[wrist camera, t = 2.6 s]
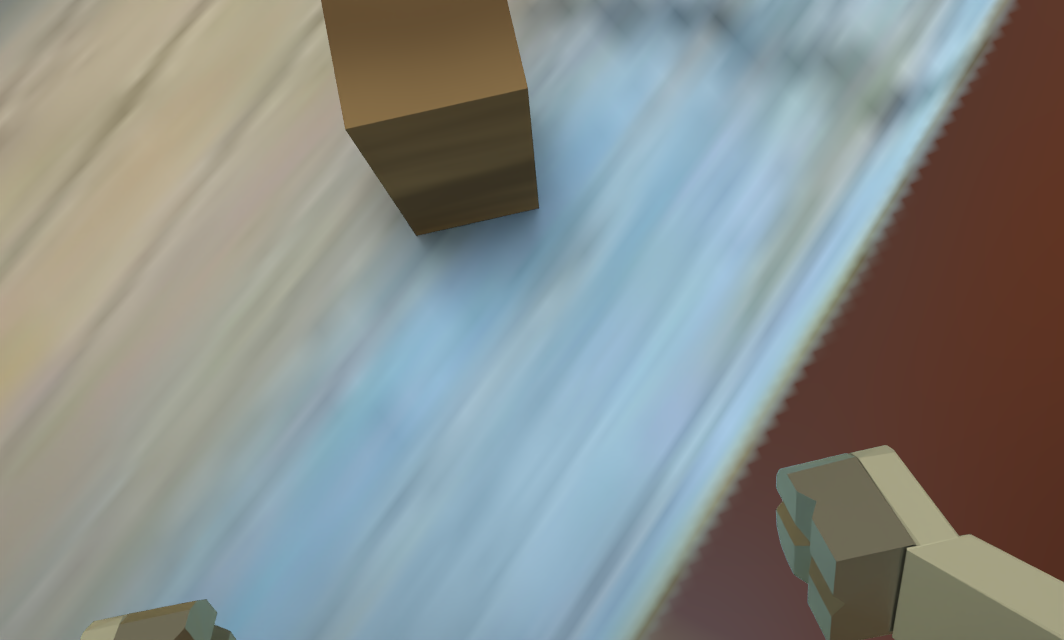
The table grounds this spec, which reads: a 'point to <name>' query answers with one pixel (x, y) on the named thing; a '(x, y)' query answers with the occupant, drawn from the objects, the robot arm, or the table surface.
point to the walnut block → (436, 105)
